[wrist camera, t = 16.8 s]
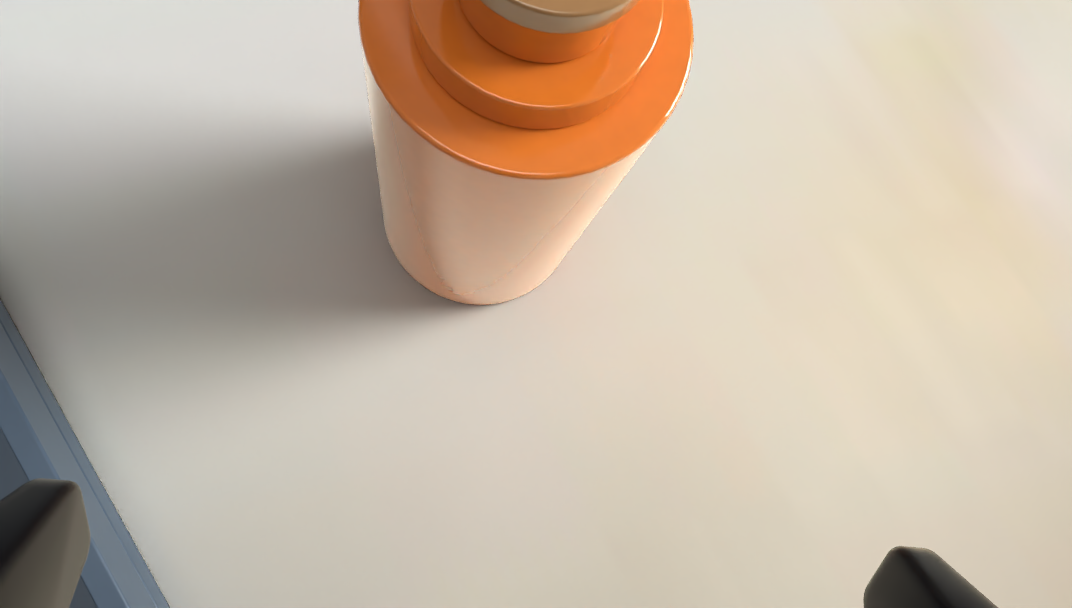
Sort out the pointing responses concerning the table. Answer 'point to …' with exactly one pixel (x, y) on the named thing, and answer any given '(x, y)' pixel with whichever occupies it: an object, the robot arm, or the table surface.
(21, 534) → the robot arm
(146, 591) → the blue rectangular tray
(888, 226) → the table surface
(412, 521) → the table surface
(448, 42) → the orange bottle
